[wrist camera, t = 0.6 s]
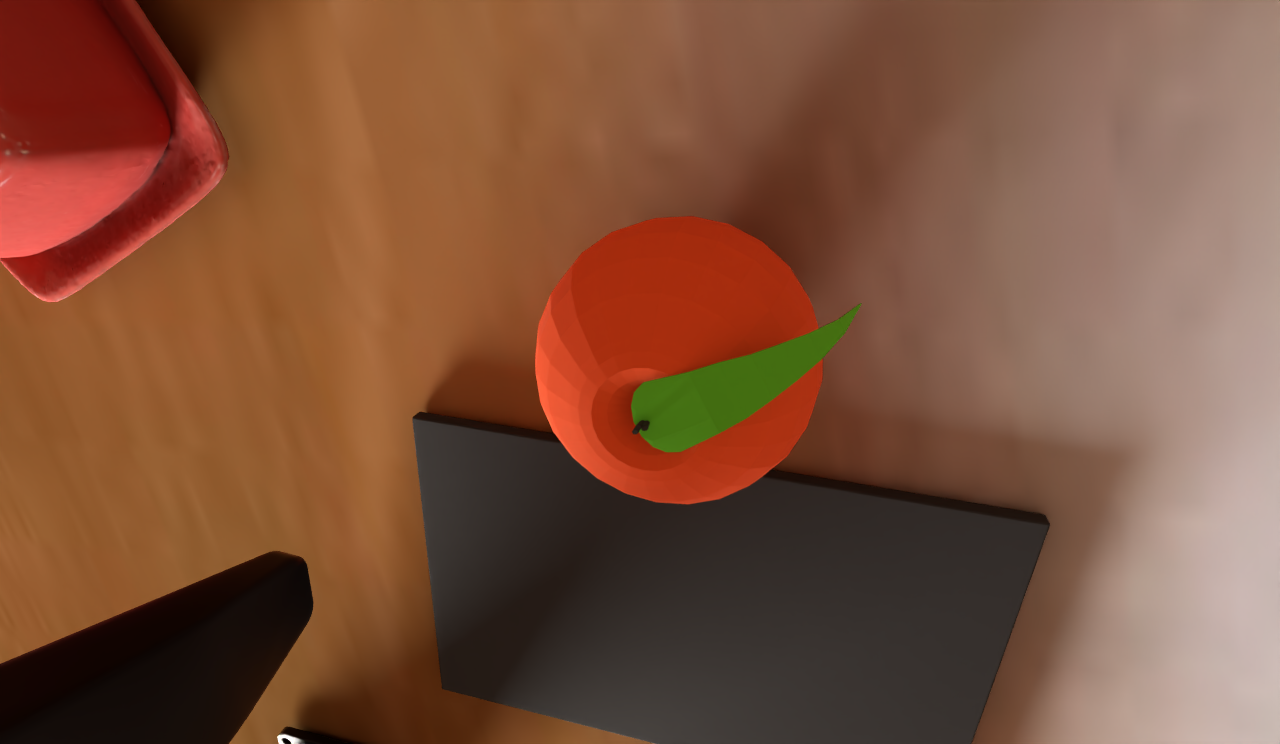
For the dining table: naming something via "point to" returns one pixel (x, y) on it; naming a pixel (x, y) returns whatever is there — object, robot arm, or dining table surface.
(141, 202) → the butter dish
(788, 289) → the clementine
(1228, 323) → the dining table surface
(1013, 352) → the dining table surface
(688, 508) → the placemat
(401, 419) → the dining table surface
